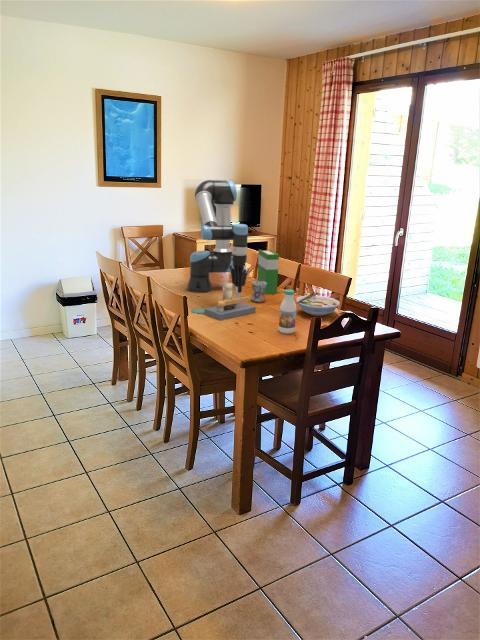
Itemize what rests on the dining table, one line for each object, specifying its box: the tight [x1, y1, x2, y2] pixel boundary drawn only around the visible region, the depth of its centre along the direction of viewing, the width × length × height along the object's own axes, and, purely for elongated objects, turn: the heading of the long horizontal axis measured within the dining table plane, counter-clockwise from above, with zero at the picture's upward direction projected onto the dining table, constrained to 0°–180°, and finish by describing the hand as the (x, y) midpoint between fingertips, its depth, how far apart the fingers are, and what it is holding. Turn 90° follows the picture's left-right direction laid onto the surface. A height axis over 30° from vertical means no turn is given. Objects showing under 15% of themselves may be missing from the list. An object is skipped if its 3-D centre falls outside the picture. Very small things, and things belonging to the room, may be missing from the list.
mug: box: [250, 280, 267, 303], centre depth 287 cm, size 12×9×11 cm
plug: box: [221, 281, 236, 310], centre depth 260 cm, size 10×10×16 cm
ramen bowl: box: [296, 292, 340, 317], centre depth 265 cm, size 25×23×8 cm
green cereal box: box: [256, 248, 280, 295], centre depth 308 cm, size 18×7×24 cm, turn 14°
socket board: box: [203, 302, 257, 321], centre depth 261 cm, size 13×24×6 cm, turn 132°
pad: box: [190, 307, 206, 315], centre depth 263 cm, size 9×9×1 cm
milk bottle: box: [278, 289, 297, 335], centre depth 234 cm, size 8×8×20 cm
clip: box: [217, 295, 251, 307], centre depth 259 cm, size 4×21×2 cm, turn 132°
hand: (237, 297), depth 269 cm, fingers closed
